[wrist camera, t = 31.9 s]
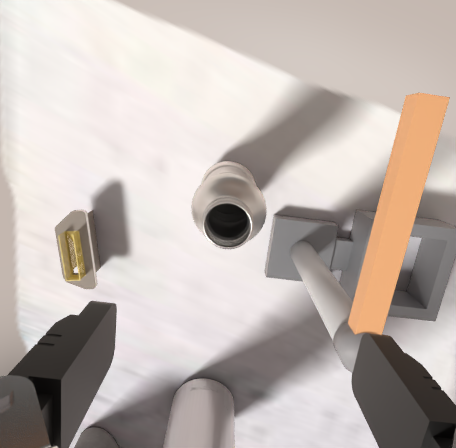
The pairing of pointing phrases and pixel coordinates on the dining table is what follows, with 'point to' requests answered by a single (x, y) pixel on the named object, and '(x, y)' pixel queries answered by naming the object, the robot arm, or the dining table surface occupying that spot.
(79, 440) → the flask
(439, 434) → the robot arm
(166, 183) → the dining table surface
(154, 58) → the dining table surface
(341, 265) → the plug dock
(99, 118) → the dining table surface
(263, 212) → the plastic bottle
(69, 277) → the platform
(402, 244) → the slender peach stick
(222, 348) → the dining table surface
